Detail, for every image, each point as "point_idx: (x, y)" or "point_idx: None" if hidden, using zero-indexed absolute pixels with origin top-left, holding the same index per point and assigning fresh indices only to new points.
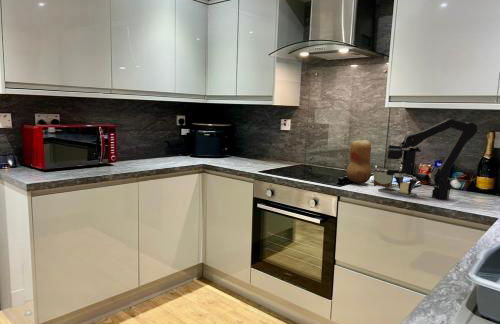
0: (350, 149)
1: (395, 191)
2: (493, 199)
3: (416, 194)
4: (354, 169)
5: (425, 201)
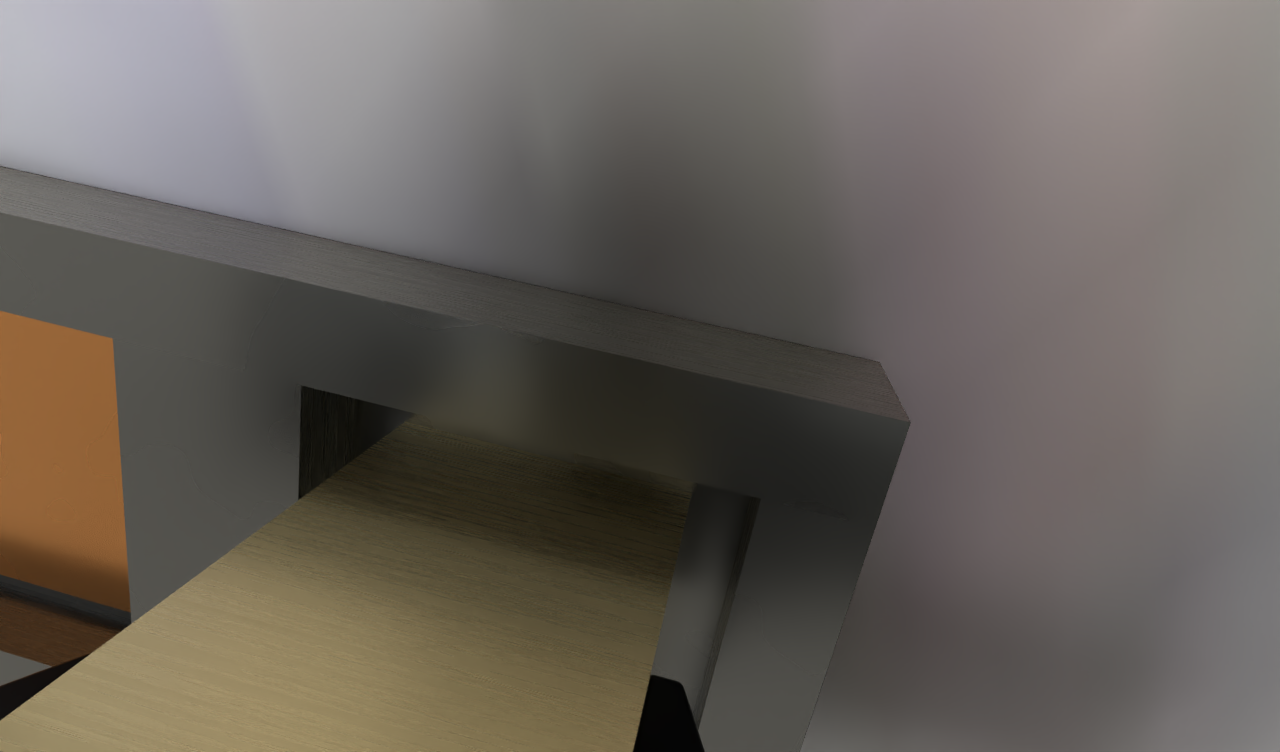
0: None
1: None
2: None
3: (893, 425)
4: None
5: (1216, 713)
